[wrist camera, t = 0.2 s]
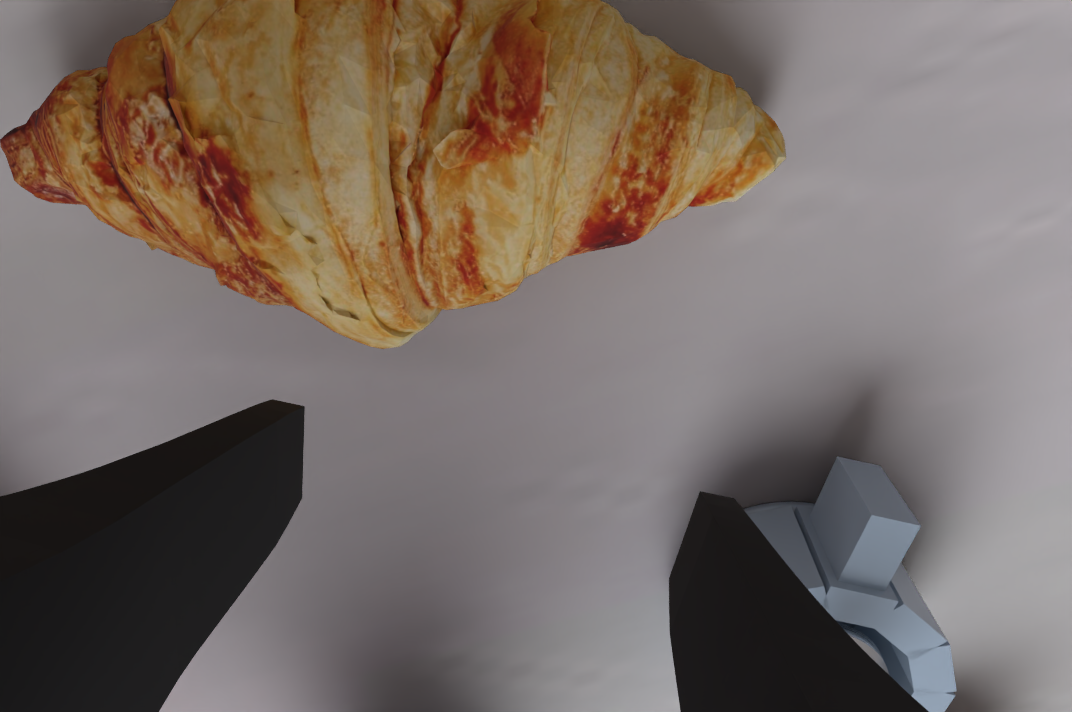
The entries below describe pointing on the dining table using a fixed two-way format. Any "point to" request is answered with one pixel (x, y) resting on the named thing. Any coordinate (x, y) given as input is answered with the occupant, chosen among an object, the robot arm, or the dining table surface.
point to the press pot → (865, 572)
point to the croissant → (391, 147)
